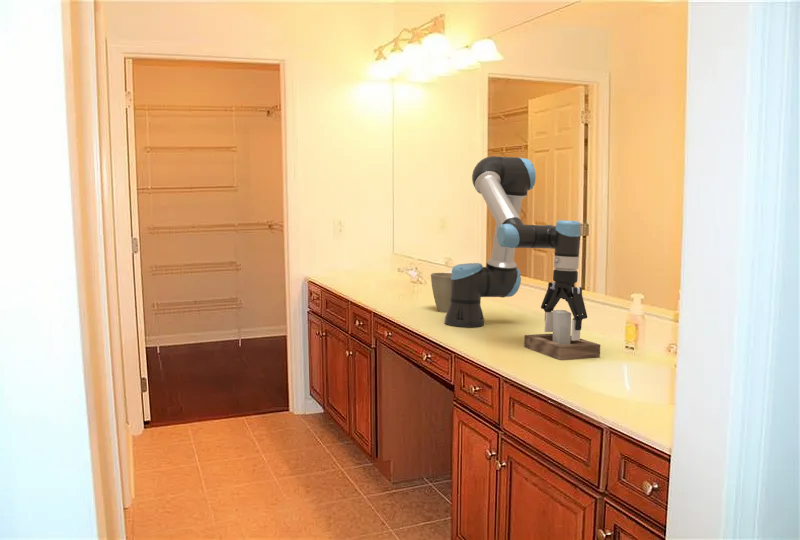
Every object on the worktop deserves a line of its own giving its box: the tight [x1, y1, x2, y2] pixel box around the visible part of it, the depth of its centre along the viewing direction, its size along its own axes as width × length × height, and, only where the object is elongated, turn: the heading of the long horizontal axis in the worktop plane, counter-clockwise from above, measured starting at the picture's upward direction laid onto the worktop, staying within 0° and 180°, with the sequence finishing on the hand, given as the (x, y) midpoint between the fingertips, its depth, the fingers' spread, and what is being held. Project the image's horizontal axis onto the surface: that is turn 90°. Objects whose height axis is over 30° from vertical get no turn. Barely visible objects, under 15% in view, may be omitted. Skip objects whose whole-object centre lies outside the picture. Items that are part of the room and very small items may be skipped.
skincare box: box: [552, 309, 572, 345], centre depth 210 cm, size 6×4×12 cm
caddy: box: [523, 333, 601, 361], centre depth 210 cm, size 19×15×4 cm
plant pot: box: [430, 272, 452, 313], centre depth 285 cm, size 15×15×16 cm
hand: (561, 336), depth 210 cm, fingers open, 13 cm apart
